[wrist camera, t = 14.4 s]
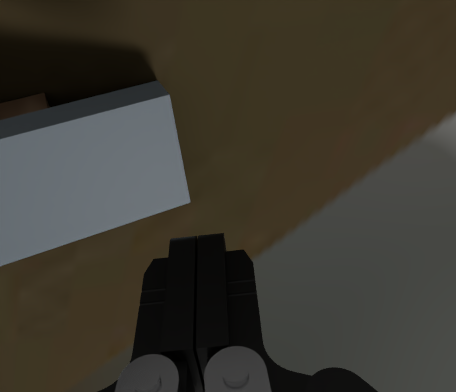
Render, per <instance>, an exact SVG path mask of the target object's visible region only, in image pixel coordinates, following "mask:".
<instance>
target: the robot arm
mask: <svg viewBox="0 0 456 392" xmlns="http://www.w3.org/2000/svg"><path fill="white" fill-rule="evenodd" d="M98 392H377V391H376V390H375V389H374V388H373V387H371V386H370V385H369V384H368V383H367V382H365V381H364V380H363V379H361V378H360V377H359V376H358V375H356V374H355V373H353V372H351V371H349V370H346V369H342V368H326V369H323V370H320V371H318V372H317V373H315V374H314V375H313V376H310V375H305V374H301V373H297V372H293V371H289V370H286V369H284V368H282V367H280V366H279V365H277V364H276V363H275V362H274V361H273V360H272V359H271V358H270V357H269V356H268V354H267V352H266V351H265V348H264V345H263V340H262V333H261V323H260V315H259V307H258V300H257V291H256V283H255V276H254V267H253V262H252V261H251V259H250V258H249V256H248V255H247V254H246V252H245V251H244V250H236V251H226V245H225V238H224V233H220V234H210V235H200V236H198V239H197V236H192V237H182V238H173V239H171V240H170V246H169V257H168V258H159V259H153V261H152V262H151V264H150V265H149V267H148V269H147V270H146V272H145V273H144V278H143V285H142V293H141V299H140V306H139V312H138V319H137V326H136V333H135V339H134V346H133V353H132V358H131V361H130V363H129V364H128V365H127V367H125V368H124V370H123V371H122V373H121V375H120V376H119V379H118V380H117V381H116V382H114V383H113V384H112V385H110V386H108V387H107V388H105V389H103V390H101V391H98Z"/></svg>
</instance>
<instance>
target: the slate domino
mask: <svg viewBox="0 0 456 392" xmlns="http://www.w3.org/2000/svg"><path fill="white" fill-rule="evenodd" d="M187 203H190V198H189V192H188V187H187V182H186V177H185V172H184V167H183V162H182V156H181V151H180V146H179V141H178V136H177V131H176V126H175V121H174V115H173V110H172V105H171V100H170V95H169V93H168V92H167V91H166V90H165V89H164V87H163V86H162V85H161V84H160V83H159V81H158V80H157V81H153V82H149V83H145V84H141V85H137V86H133V87H129V88H126V89H122V90H118V91H114V92H110V93H106V94H102V95H98V96H94V97H90V98H86V99H82V100H78V101H74V102H70V103H66V104H62V105H58V106H54V107H50V108H46V109H43V110H39V111H35V112H31V113H27V114H23V115H19V116H15V117H11V118H7V119H3V120H0V266H2V265H5V264H8V263H11V262H14V261H17V260H20V259H23V258H26V257H29V256H32V255H35V254H38V253H41V252H44V251H47V250H50V249H53V248H56V247H59V246H62V245H65V244H68V243H71V242H74V241H77V240H80V239H83V238H86V237H89V236H92V235H95V234H97V233H100V232H103V231H106V230H109V229H112V228H115V227H118V226H121V225H124V224H127V223H130V222H133V221H136V220H139V219H142V218H145V217H148V216H151V215H154V214H157V213H160V212H163V211H166V210H169V209H172V208H175V207H178V206H181V205H184V204H187Z"/></svg>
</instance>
